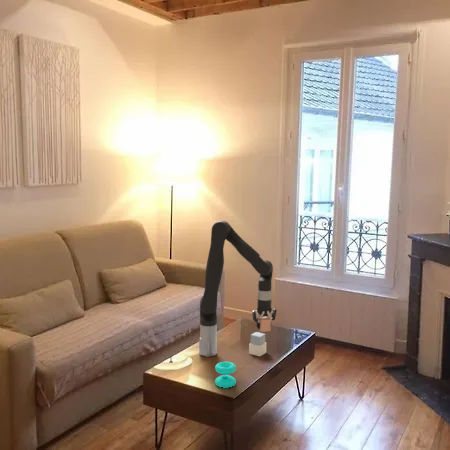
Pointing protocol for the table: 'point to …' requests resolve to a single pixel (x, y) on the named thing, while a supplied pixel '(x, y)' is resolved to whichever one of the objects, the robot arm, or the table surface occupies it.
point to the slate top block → (257, 338)
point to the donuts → (225, 369)
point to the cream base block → (257, 349)
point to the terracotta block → (265, 324)
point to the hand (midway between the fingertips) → (263, 328)
